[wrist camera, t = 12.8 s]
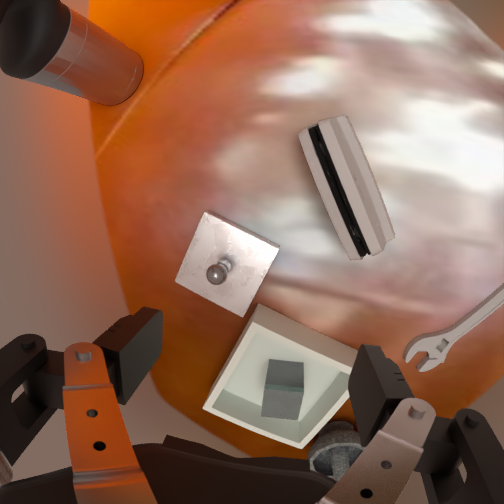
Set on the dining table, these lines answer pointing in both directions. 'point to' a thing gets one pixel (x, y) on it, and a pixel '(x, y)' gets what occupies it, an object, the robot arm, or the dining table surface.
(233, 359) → the bin
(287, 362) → the grey rectangular block
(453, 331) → the adjustable wrench
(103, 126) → the dining table surface
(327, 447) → the mortar and pestle
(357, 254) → the napkin holder
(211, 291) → the stud plate
